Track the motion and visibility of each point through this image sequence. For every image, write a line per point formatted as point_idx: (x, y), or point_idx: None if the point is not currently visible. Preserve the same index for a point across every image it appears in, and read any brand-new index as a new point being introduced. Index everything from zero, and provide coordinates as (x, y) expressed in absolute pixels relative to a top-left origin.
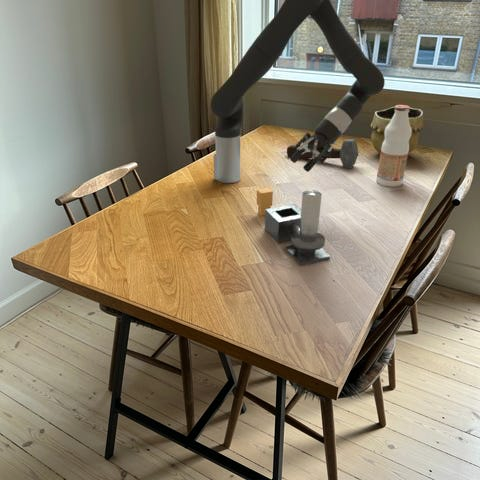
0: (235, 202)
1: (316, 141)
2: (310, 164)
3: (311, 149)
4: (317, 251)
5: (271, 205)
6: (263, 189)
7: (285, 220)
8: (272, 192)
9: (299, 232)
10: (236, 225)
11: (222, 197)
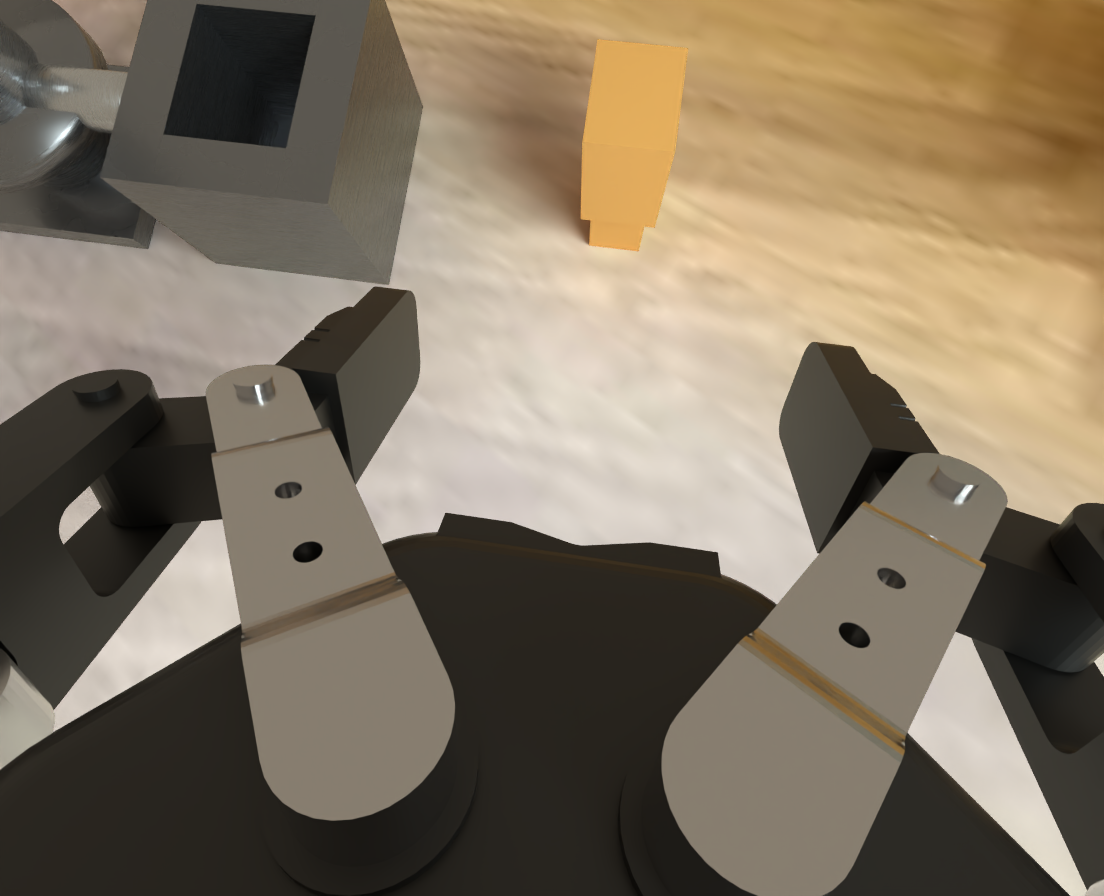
0: (861, 139)
1: (333, 694)
2: (299, 342)
3: (494, 524)
4: (32, 189)
5: (581, 212)
6: (659, 94)
7: (151, 3)
8: (582, 146)
9: (57, 65)
10: (561, 3)
11: (980, 102)
